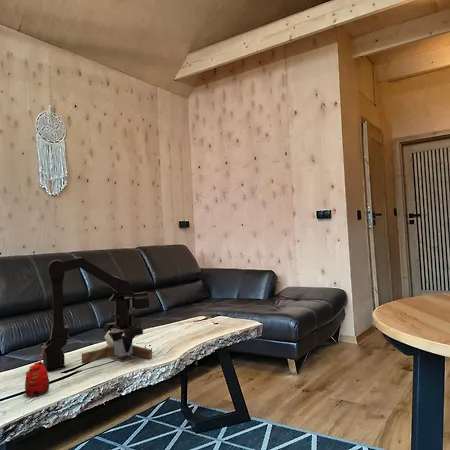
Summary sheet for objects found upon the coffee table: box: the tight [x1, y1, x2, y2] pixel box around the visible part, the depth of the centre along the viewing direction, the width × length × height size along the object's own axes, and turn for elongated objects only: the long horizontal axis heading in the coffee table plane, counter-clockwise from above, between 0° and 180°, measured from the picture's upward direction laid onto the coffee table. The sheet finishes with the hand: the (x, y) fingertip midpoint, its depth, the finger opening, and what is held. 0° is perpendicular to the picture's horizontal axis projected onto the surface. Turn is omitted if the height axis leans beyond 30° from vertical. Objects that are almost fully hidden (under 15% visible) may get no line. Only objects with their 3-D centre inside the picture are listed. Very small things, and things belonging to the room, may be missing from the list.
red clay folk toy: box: [24, 342, 50, 397], centre depth 129 cm, size 8×7×15 cm
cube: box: [114, 340, 133, 357], centre depth 164 cm, size 5×5×5 cm
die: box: [104, 330, 125, 347], centre depth 183 cm, size 8×9×10 cm
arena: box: [81, 344, 153, 364], centre depth 160 cm, size 19×19×4 cm
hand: (123, 351), depth 164 cm, fingers closed on cube, 5 cm apart
